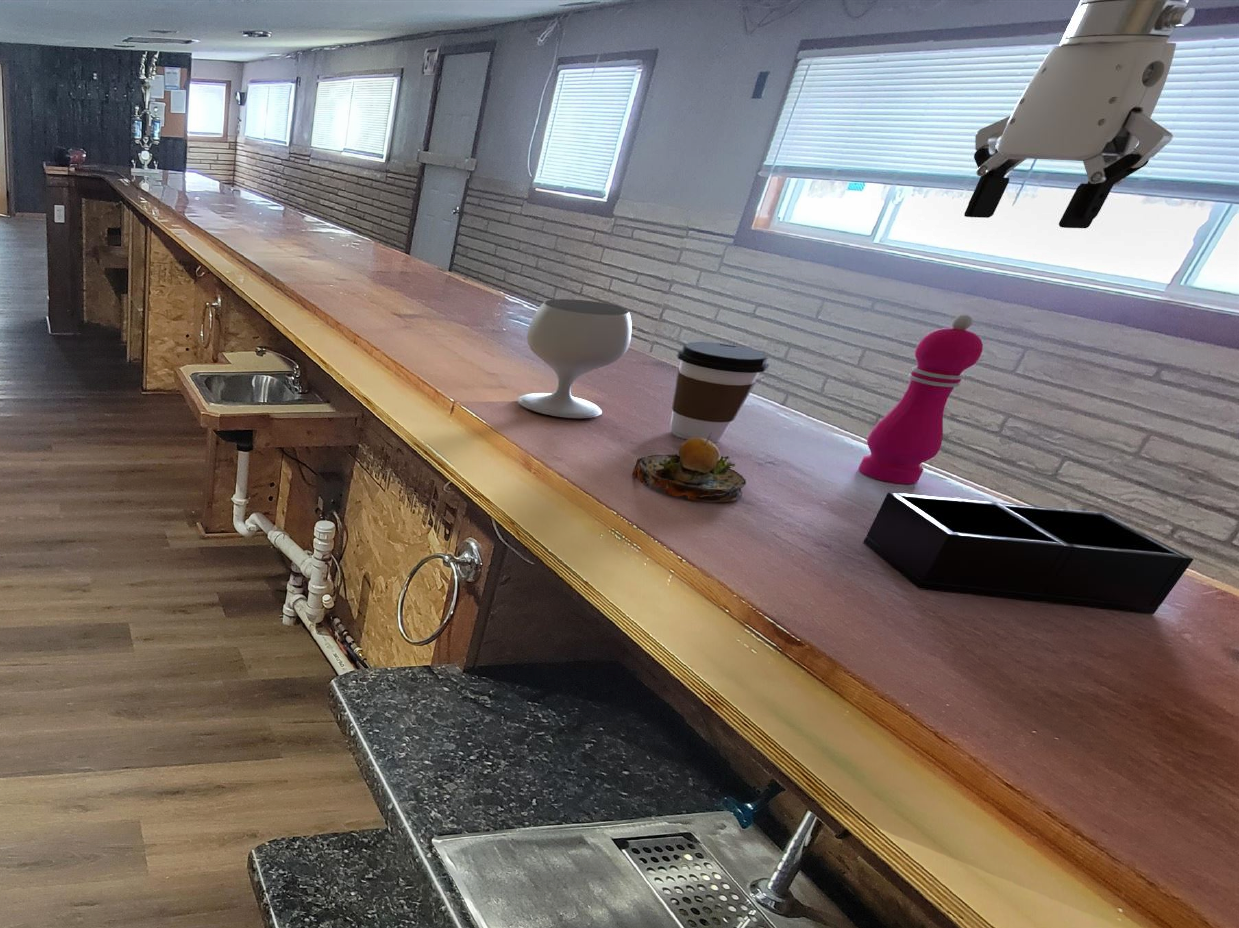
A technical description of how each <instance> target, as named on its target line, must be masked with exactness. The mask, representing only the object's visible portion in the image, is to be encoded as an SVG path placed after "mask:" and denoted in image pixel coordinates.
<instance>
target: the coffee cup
mask: <svg viewBox="0 0 1239 928" xmlns="http://www.w3.org/2000/svg"><path fill="white" fill-rule="evenodd" d="M676 358H677V359H678V360H680V363H679V368H678V369H677V372H676V373H677V374H676V379H675V384H674V392H673V398H672V404H671V411H672V412H671V417H670V418H671V419H670V429H671V433H672V434H673V436H675V437H677V438H681V439H683V440H685V441H687V440H689V439H691V438H703V439H707V440H708V438H709V436H710V438H709V441H711V442H713V443H717V442H718V441H719V440H721V439H722V438H723V437H724V436H725V435H726V432H727V430H728V429H729V427H730V426H731V423H732V422H733V421H734V420H736V418H737V416H738V414H739V412H740V411H741V409H742V407H743V406H744V404H745V402H746V400H747V399H748V396H749V395H750V393H751V392H752V390H753V388H754V387H755V385H756V380H757V379H758V377H759V375H760V373H763V372H766V371H768V369H769V366H770V364H769V363H768V362H767V361H768V359H769V358H768V356H767V355H766V354H765V353H764V352H761V351H760V350H757V349H754V348H749V347H745V346H741V345H735V344H729V343H722V342H713V341H711V342H710V341H694V342H693V341H692V342H688V343H685V344H684V345H683V346H682V348H681V349H680V350H678V351H677V352H676ZM711 432H712V433H711ZM710 434H711V435H710Z"/></svg>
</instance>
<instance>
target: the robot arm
mask: <svg viewBox="0 0 1239 928" xmlns="http://www.w3.org/2000/svg"><path fill="white" fill-rule="evenodd" d="M1189 1H1190V0H1080V1H1079V2H1078V6H1076V8H1075V11H1074V13H1073V15H1072V17H1071V19H1070V22H1069V24H1068V25H1067V27H1066V30H1065V32H1064V34H1063V36H1062V38H1061V40H1060V43H1059V45H1057V46H1053V47H1051V49H1050V50H1049V52H1048V53H1047V54H1046V56H1045V58H1043V61H1042V62H1041V64H1040V65H1039V66H1038V68H1037V70H1036V71H1035V73H1034V75H1033V76H1032V77H1031V79H1030V81H1029V83H1028V84H1027V86H1026V88H1025V89H1024V91H1023V93H1022V95H1021V96H1020V98H1019V100H1018V102H1017V103H1016V106H1015V107H1014V109H1013V111H1012V113H1011V115H1009V116H1006V117H1005V118H1003V119H1000V120H998V121H996V122H993V123H991V124H989V125H987V126H985V127H983V128H981V129H978V130H977V132H976V133H975V136H974V137H975V138H974V139H975V141H974V142H975V144H974V145H975V146H974V147H975V153H974V154H973V159H974V161H975V164H976V166H977V169H976V172H975V173H976V176H978V177H980V178H979V180H978V181H977V184H976V186H975V189H974V191H973V193H972V195H971V197H970V199H969V202H968V205H967V207H966V208H965V211H964V215H963V216H964V217H965V218H981V219H982V218H984V219H985V218H986V219H989V218H991V217H993V216H994V215H995V212H996V210H997V208H998V207H999V204H1000V202H1001V200H1002V198H1003V195H1004V193H1005V191H1006V189H1007V187H1008V185H1009V183H1010V177H1007V174H1008V173H1010V172H1011V171H1013V170H1014V169H1015V168H1016V167H1018V166H1019V165H1021V164H1022V163H1023V162H1024V161H1026V160H1051V161H1070V162H1071V161H1072V162H1074V161H1075V162H1083V166H1084V169H1085V173H1086V176H1087V179H1088V181H1087V182H1085V183H1084V182H1081V183H1080V184H1078V186H1077V188H1076V189H1075V191H1074V193H1073V195H1072V196H1071V199H1070V201H1069V202H1068V204H1067V207H1066V209H1065V210H1064V212H1063V214H1062V216H1061V218H1060V220H1059V222H1058V226H1059V228H1063V229H1088V228H1089V227H1090V226H1091V224H1092V223H1093V221H1094V219H1096V217H1097V216H1098V215H1099V213H1100V212H1101V209H1102V208H1103V206H1104V204H1105V202H1106V201H1107V198H1108V196H1109V195H1110V192H1111V191H1112V189H1113V187H1114V186H1117V185H1119V184H1122V183H1123V182H1124V181H1125V179H1126V178H1127V177H1128V176H1130V175H1133V174H1134V173H1135V172H1137V171H1139V170H1140V169H1142V168H1144V167H1145V166H1146V165H1147V164H1148V163H1149V161H1150V159H1151V158H1153V157H1155V156H1156V155H1157V154H1158V153H1159V152H1160V151H1161V150H1162V149H1164V148H1165V147H1166V146H1167V145H1168V144H1169V143H1171V141H1172V140H1173V138H1174V137H1173V133H1172V132H1170V131H1169V130H1167V129H1166V128H1165V127H1163V126H1162V125H1160V124H1159V123H1158V122H1156V121H1155V120H1154V119H1152V115H1153V113H1154V111H1155V108H1156V106H1157V104H1158V101H1159V99H1160V97H1161V95H1162V92H1163V90H1164V87H1165V85H1166V81H1167V79H1168V76H1169V72H1170V69H1171V66H1172V64H1173V60H1174V55H1175V51H1176V47H1177V43H1176V42H1168V41H1169V39H1170V37H1171V36H1172V34H1173V33H1174V32H1175V29H1176V27H1180V26H1181V27H1182V26H1186V25H1188V24H1189V23H1191V21H1192V20H1193V19H1194V17H1195V14H1196V9H1195V8H1194V7H1187V6H1188V4H1189ZM998 139H999V142H998ZM997 142H998V146H997ZM996 146H997V148H996Z"/></svg>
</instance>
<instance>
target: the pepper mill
mask: <svg viewBox="0 0 1239 928" xmlns="http://www.w3.org/2000/svg"><path fill="white" fill-rule="evenodd" d="M972 324H973V318H972V317H971V316H970V315H968V314H961V315H958V316H956V317H955V318H954V319H953V320H952V321H951V327H943V328H939V329H935V330H932V331H930V332H928V333H927V334H926V335H924V336H923V338H921V340H919V342H918V344H917V345H916V347H915V351H914V357H915V359H916V362H917V365H914V366H912V367H911V372H910V374H908V376H907V377H908V379H909V384H908V386H907V389H906V390H905V391H904V394H903V396H901V399H900V400H898V402H897V403H896V404H895V406H894V407H893V408H892V409H891V410H890V411H889V412H888V413H886V414H885V415H884V416H883V417H882V418H881V419H880V420H879V421H878V422H877V423H876V425H874V427H872V429H871V431H870V432H869V434H868V436H867V438H866V445H867V447H868V449H869V452H870V453H869V454H865V455H864V456H863V457H862V460H861V461H860V464H859V466H858V471H859V472H860V473H861V474H863V475H864V476H867V477H869V478H871V479H876V480H879V481H882V482H887V483H891V484H900V485H914V484H916V483H918V481H919V479H920V478H921V476H922V474H923V472H924V467H923V466H922V465H921V464H923V463H925V462H928V461H930V460H931V459H933V458H934V457H936V456H937V455H938V453H939V451H940V449H941V446H942V443H943V438H944V437H943V436H944V412H945V407H946V404H947V401H948V399H949V397H950V395H951V393H952V391H953V390H954V388H956V387H959V386H960V385H961V381H962V379H964V378H965V374H964V373H963V372H964V371H966V370H967V369H969V368H970V367H973V366H974V365H975V364H976V363H977V362H978V360H980V357H982V353H983V348H984V347H983V345H984V344H983V341H982V338H981V337H980V336H979V335H978V334H976V333H975V332H973V331H971V330H968V329H969V328H970V327H971V326H972Z"/></svg>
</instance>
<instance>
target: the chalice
mask: <svg viewBox="0 0 1239 928" xmlns="http://www.w3.org/2000/svg"><path fill="white" fill-rule="evenodd" d="M632 325H633V324H632V317H631V314H630V311H629V310H628V309H626V308H625V307H622V306H619V305H615V304H611V303H606V302H600V301H592V300H584V299H572V298H570V299H569V298H557V299H547V300H545V301H543V303H542V304H541V305H540V306H539V307H538V308H537V310H536V312H535V313H534V315H533V317H532V319H531V321H530V323H529V326H528V329H527V335H526V343H527V345H528V347H529V349H530V350H531V352H532V353H533V354H534V355H536V356H537V357H538V358H539V359H540V360H542V361H543V362H544V363H545V364H547V365H548V366H549V367H550V368H551V369H552V370H553V371H554V373H555V374H556V377H557V380H558V385H557V387H556V389H555V390H554V391H553V392H552V393H549V392H537V393H536V392H534V393H533V392H532V393H526V394H523V395H521V396H519V397H518V398H517V403H518V404H519V405H520V406H522V407H524V408H525V409H528V410H531V411H532V412H535V413H539V414H543V415H549V416H552V417H559V418H567V419H590V418H596V417H600V416H601V415H602V414H603V411H602V409H601V408H600V406H598V405H597V404H595V403H594V402H591V401H588V400H586V399H583V398H579V397H574V396H573V395H572V392H571V388H572V385H573V383H574V382H575V381H576V380H577V379H578V378H579V377H581V376H582V375H584V374H586V373H589V372H591V371H594V370H597V369H599V368H603V367H605V366H609V365H611V364H613V363H615V362H617V361H619V360H620V359H621V358H622V357H623V356H624V355H625V354H626V352H627V351H628V350H629V347H630V344H631V339H632V331H633V330H632V328H633V327H632Z"/></svg>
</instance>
